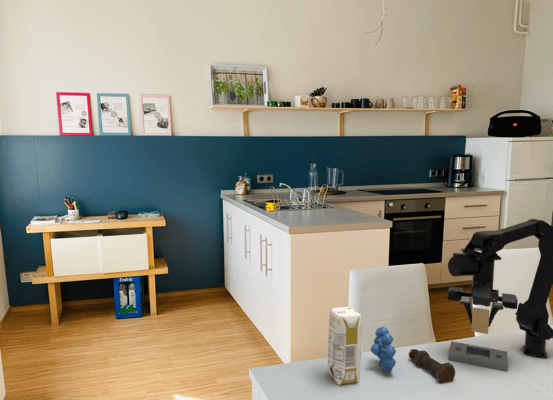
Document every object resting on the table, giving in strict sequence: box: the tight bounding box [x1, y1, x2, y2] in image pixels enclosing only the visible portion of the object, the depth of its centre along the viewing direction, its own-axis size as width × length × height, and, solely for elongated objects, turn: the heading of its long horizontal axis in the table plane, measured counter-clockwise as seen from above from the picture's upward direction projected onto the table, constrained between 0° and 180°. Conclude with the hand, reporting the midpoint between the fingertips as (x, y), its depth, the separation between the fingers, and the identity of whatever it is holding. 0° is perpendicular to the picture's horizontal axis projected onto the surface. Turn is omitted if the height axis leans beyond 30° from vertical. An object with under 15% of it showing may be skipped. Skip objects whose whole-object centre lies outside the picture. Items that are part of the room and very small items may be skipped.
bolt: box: [408, 348, 456, 384], centre depth 128 cm, size 6×5×15 cm
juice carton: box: [327, 306, 363, 386], centre depth 122 cm, size 8×9×19 cm
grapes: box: [370, 325, 397, 374], centre depth 128 cm, size 12×7×12 cm, turn 9°
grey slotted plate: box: [447, 340, 509, 372], centre depth 136 cm, size 10×16×2 cm, turn 64°
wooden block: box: [471, 307, 490, 335], centre depth 135 cm, size 4×4×6 cm
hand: (480, 324), depth 135 cm, fingers closed on wooden block, 4 cm apart
